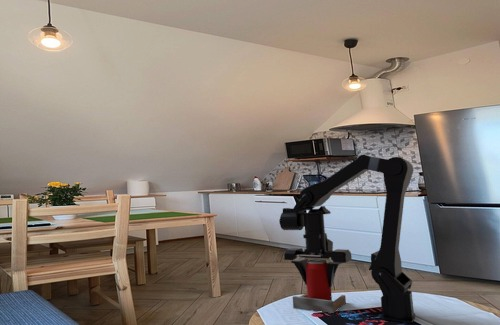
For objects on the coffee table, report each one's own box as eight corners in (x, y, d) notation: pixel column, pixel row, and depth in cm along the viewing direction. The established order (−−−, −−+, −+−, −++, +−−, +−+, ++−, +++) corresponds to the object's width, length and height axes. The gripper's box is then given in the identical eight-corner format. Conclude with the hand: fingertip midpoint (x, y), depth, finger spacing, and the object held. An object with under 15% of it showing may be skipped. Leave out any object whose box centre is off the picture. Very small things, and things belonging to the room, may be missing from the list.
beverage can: (330, 300, 96) (327, 258, 98) (333, 307, 90) (330, 262, 91) (307, 301, 97) (304, 259, 99) (308, 308, 90) (305, 263, 92)
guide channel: (345, 302, 95) (345, 291, 95) (332, 313, 86) (331, 301, 86) (309, 298, 101) (308, 287, 101) (293, 308, 92) (292, 296, 92)
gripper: (354, 228, 98) (359, 282, 96) (297, 228, 108) (300, 277, 106) (342, 231, 88) (347, 291, 86) (281, 231, 99) (284, 285, 96)
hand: (318, 285), depth 94 cm, fingers closed on beverage can, 7 cm apart
